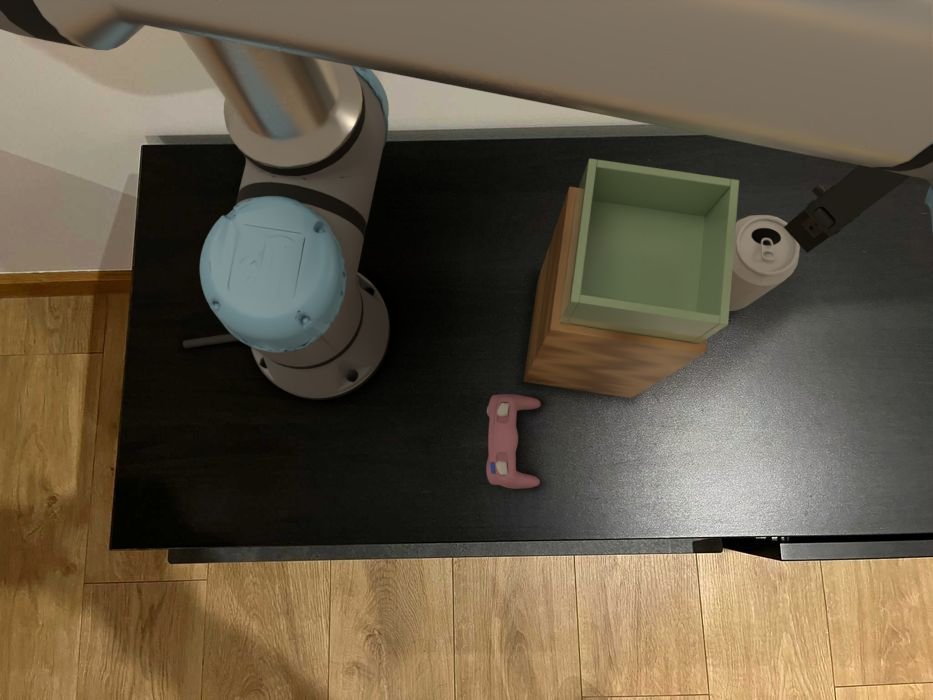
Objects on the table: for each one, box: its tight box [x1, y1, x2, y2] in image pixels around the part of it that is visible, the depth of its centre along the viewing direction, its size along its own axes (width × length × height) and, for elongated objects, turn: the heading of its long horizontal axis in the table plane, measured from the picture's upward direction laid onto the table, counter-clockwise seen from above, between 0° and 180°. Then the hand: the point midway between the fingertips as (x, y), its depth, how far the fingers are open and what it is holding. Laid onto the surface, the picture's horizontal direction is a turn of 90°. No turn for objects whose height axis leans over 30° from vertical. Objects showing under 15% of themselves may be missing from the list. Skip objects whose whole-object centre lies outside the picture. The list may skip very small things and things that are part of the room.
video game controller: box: [485, 393, 542, 490], centre depth 73 cm, size 10×5×7 cm, turn 178°
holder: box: [559, 158, 740, 344], centre depth 51 cm, size 11×11×6 cm
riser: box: [523, 186, 708, 399], centre depth 66 cm, size 12×12×24 cm
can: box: [729, 214, 801, 312], centre depth 73 cm, size 8×8×12 cm
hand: (861, 189), depth 55 cm, fingers open, 13 cm apart
